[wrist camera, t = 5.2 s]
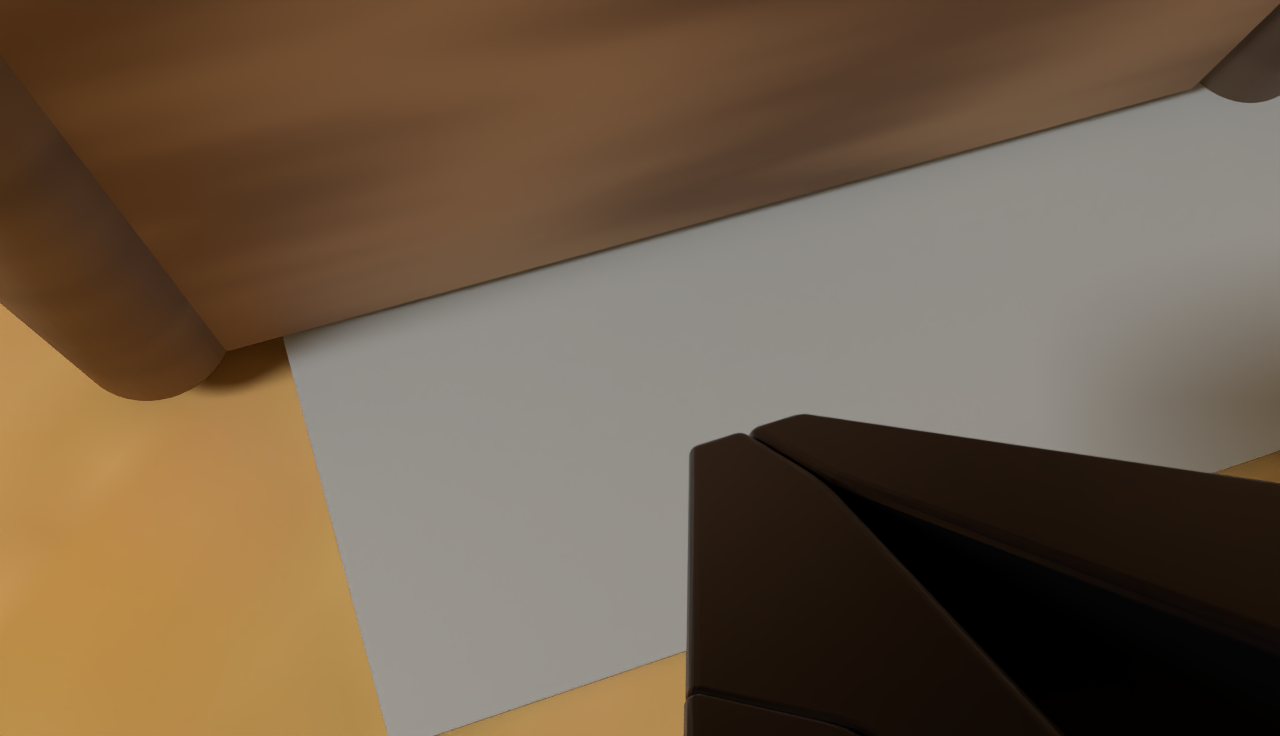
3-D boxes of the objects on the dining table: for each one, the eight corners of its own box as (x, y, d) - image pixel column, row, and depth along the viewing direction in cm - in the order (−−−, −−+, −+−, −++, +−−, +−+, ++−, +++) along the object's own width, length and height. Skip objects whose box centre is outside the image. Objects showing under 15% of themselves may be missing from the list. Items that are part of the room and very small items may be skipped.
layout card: (1921, 234, 20) (1953, 222, 19) (394, 749, 15) (392, 749, 15) (1547, -345, 23) (1567, -366, 22) (182, -54, 18) (173, -74, 18)
